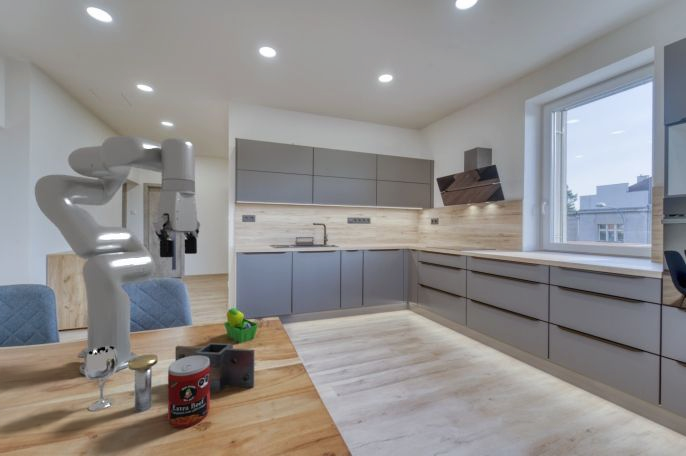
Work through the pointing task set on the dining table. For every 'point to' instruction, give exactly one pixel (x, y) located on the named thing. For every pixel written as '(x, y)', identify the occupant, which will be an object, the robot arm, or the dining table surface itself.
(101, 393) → the wineglass
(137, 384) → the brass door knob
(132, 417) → the dining table surface
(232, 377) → the hinge leaf
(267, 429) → the dining table surface
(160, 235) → the robot arm
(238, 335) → the fruit basket
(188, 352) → the hinge leaf
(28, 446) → the dining table surface
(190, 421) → the canned food
